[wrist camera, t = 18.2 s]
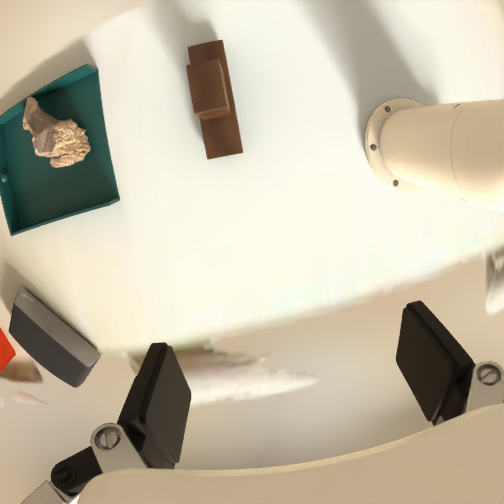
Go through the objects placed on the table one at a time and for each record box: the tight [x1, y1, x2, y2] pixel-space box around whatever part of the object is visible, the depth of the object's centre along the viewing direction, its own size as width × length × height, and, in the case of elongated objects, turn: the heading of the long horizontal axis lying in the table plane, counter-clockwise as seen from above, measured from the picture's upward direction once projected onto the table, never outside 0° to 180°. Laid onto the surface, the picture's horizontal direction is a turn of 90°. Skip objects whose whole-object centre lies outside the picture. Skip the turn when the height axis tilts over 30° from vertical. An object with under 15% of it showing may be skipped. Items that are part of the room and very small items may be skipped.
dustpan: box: [0, 64, 120, 236], centre depth 30 cm, size 31×19×3 cm, turn 99°
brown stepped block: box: [186, 40, 243, 159], centre depth 26 cm, size 4×14×9 cm, turn 9°
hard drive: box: [9, 288, 101, 387], centre depth 41 cm, size 13×19×4 cm
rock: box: [23, 97, 91, 168], centre depth 27 cm, size 6×14×7 cm, turn 47°
